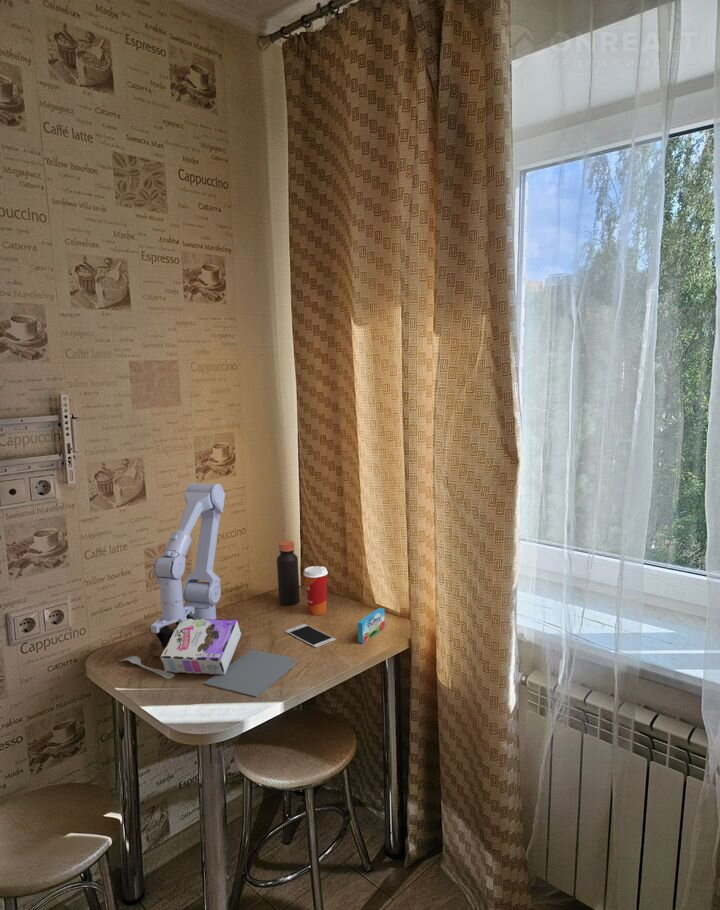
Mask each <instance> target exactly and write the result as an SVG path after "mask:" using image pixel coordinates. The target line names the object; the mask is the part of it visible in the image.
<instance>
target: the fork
mask: <svg viewBox="0 0 720 910" xmlns="http://www.w3.org/2000/svg"><path fill="white" fill-rule="evenodd" d="M124 661H128V662H130V663H131V664H135V665H138V666H139V667H140V668H142V669H146V670H148V671H150V672H153V673H155V674H157V675H159V676H161V677H163V678H165V679H167V680H170V679H172V678H174V677H175V676H176V674H174V673H173V672H165V670H161V669H158V668H154V667H150V666H146V665H145V664H143V663H142V659H141V658H140V657H139V656H136V655H131V656H128V657H125V658H123V659H121V660H120V662H124Z"/></svg>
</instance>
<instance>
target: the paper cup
mask: <svg viewBox="0 0 720 910" xmlns="http://www.w3.org/2000/svg"><path fill="white" fill-rule="evenodd" d="M302 574H303V576H304V584H305V585H304V586H305V594H306V601H307V608H308V609H307V610H308V614H309V615H310V614H311V615H310V616H314V615H319V616H323V615H325V614H326V613H327V610H328V608H327V606H328V596H327V595H328V574H329V572H328V570H327V567H325V566H319V565H316V566H314V565H313V566H308V567H306V568H304V570H303V573H302ZM324 613H325V614H324ZM322 614H323V615H322Z"/></svg>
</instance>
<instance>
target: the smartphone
mask: <svg viewBox="0 0 720 910" xmlns="http://www.w3.org/2000/svg"><path fill="white" fill-rule="evenodd" d="M284 633H286V634H288V633H289V634H291V635H292V636H291V635H290V636H291V637H293V636H294V637H293V638H295V637H296V638H295V639H297V638H298V640H299V639H300V640H299V641H301V640H302V641H304V642H306V643H308V644H310V645H312V646H314V647H318V646H321V645H324V644H326V643H328V642H331V641H334V640H336V641H337V639H336V637H333V636H331V635H329V634H326V633H325V632H322V631H321V630H318V629H317V628H315V627H312V626H311V625H308V624H306V623H303V624H300V625H297V626H295V627H294V626H293V627H291V628H287V630H285V631H284ZM289 634H288V635H289ZM302 641H301V642H302ZM304 642H303V643H304ZM306 643H305V644H306ZM308 644H307V645H308ZM310 645H309V646H310ZM312 646H311V647H312ZM324 646H325V645H324ZM314 647H313V648H314Z"/></svg>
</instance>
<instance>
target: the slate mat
mask: <svg viewBox="0 0 720 910" xmlns="http://www.w3.org/2000/svg"><path fill="white" fill-rule="evenodd" d="M291 658H292V659H293V661H295V660H296V659H297V661H300V660H301V659H300V660H299V658H295V659H294V657H291V656H290V657H289V656H286V655H280V654H276V653H271V652H267V651H266V652H265V651H262V650H257V649H251V650H249V651H248V652H246V653H245V654H243V655H242V656H240V657H239V658H238V659H236V660H234V662H232V663H230V664H229V666H228V669H227V671H226V673H225V675H214V674H213V676H212V677H210V678H209V679H207V680H206V681H204V682H203V683H202V684H203V685H205V686H209V687H213V688H216V689H217V688H218V689H220V690H224V691H225V690H226V691H229V692H233V693H237V694H241V695H244V696H249V697H253V698H258V697H259V696H260V695H262V694H263V693H264V692H265V691H267V689H269V688H270V687H272V686H273V685H274V684H275V683H277V682H278V681H279V680H280V679H282V677H284V676H285V675H286V674H288V673H289V672H290V671H291V670H292V669H294V668H295V667H296V666H297V665H296V664H295V663H296V662H295V663H292V659H291ZM290 661H291V662H290ZM289 662H290V663H289ZM295 665H296V666H295ZM294 666H295V667H294ZM293 667H294V668H293ZM291 668H292V669H291ZM290 669H291V670H290ZM289 670H290V671H289ZM288 671H289V672H288Z"/></svg>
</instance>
